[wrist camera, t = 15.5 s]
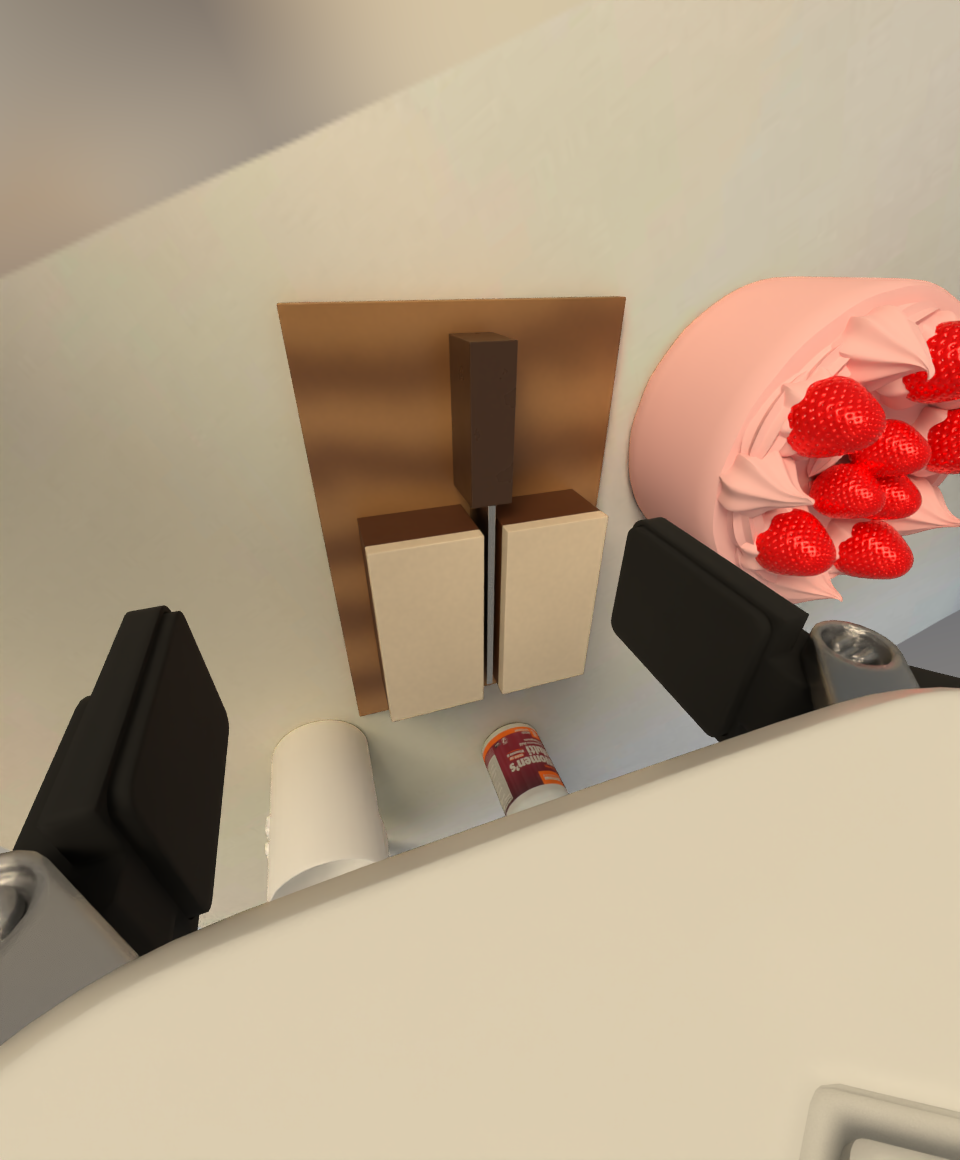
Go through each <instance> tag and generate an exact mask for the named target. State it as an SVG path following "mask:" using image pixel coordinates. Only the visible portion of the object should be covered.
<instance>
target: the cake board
mask: <svg viewBox="0 0 960 1160" xmlns="http://www.w3.org/2000/svg"><path fill="white" fill-rule="evenodd" d="M625 301H626V297H619V296H610V297H558V298H506V299H454V300H402V301H350V302H298V303H277V309H278V314H279V319H280V324H281V329H282V334H283V339H284V344H285V349H286V354H287V358H288V363H289V368H290V373H291V378H292V383H293V388H294V393H295V398H296V403H297V408H298V413H299V418H300V423H301V428H302V433H303V438H304V443H305V448H306V453H307V458H308V463H309V467H310V472H311V477H312V482H313V487H314V492H315V497H316V502H317V507H318V512H319V517H320V522H321V527H322V532H323V537H324V542H325V547H326V552H327V557H328V562H329V567H330V571H331V576H332V581H333V586H334V591H335V596H336V601H337V606H338V611H339V616H340V621H341V626H342V631H343V636H344V641H345V646H346V651H347V656H348V661H349V666H350V671H351V676H352V680H353V685H354V690H355V695H356V700H357V705H358V710H359V715H360V716H364V715H368V714H373V713H377V712H381V711H385V710H389V707H388V703H387V698H386V694H385V690H384V685H383V681H382V676H381V670H380V664H379V657H378V651H377V644H376V638H375V631H374V625H373V619H372V612H371V606H370V599H369V593H368V586H367V580H366V573H365V567H364V561H363V554H362V548H361V541H360V535H359V528H358V522H357V518H362V517H369V516H376V515H384V514H391V513H398V512H406V511H413V510H420V509H427V508H435V507H442V506H449V505H457V504H461V505H462V506H463V508H464V509H465V511H466V512H467V513H468V515H469V516H470V505H469V504H468V503H467V501H466V500H465V499H464V497H463V496H462V495H461V493H460V492H459V491H458V490H457V488H456V487H455V486H454V477H453V447H452V417H451V386H450V356H449V334H450V333H476V332H493V333H497V334H500V335H503V336H506V337H509V338H513V339H516V340H518V354H517V381H516V407H515V434H514V461H513V487H512V497H516V496H523V495H530V494H538V493H545V492H552V491H559V490H567V489H573V490H575V491H576V492H577V493H578V494H580V495H581V496H582V497H584V498H585V499H586V500H587V501H589V502H590V503H591V504H593V505H594V506H595V507H596V505H597V498H598V490H599V483H600V476H601V469H602V462H603V455H604V448H605V441H606V434H607V427H608V420H609V413H610V406H611V399H612V392H613V385H614V378H615V371H616V364H617V357H618V350H619V343H620V336H621V329H622V322H623V315H624V308H625ZM495 683H497V682H496V680H495V678H494V676H493V683H492V684H495ZM488 685H491V684H488ZM484 686H487V684H486V682H485V680H484Z"/></svg>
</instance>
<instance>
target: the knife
mask: <svg viewBox="0 0 960 1160" xmlns="http://www.w3.org/2000/svg"><path fill="white" fill-rule="evenodd" d="M517 354H518V340H516V339H513V338H509V337H506V336H503V335H500V334H497V333H493V332H476V333H450V334H449V356H450V386H451V417H452V447H453V477H454V486H455V487H456V488H457V490H458V491H459V492H460V493H461V495H462V496H463V497H464V499H465V500H466V501H467V503H468V504H469V505H470V517H471V519H472V520H473V521H474V523H475V524H476V526H477V527H478V528H479V530H480V531H481V533H482V534H483V535H484V680H485V682H486V684H487V685H488V684H492V683H493V637H494V581H495V525H496V505H501V504H508V503H512V487H513V461H514V434H515V407H516V381H517Z"/></svg>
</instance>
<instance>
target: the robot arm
mask: <svg viewBox="0 0 960 1160" xmlns="http://www.w3.org/2000/svg"><path fill="white" fill-rule="evenodd" d="M808 616H809V614H808V613H806V612H805V611H803V610H802V609H800V608H799V607H797V606H796V605H794V604H793V603H791V602H790V601H788V600H787V599H785V598H784V597H782V596H781V595H779V594H778V593H776V592H775V591H773V590H772V589H770V588H769V587H767V586H766V585H764V584H763V583H761V582H760V581H758V580H757V579H755V578H754V577H752V576H751V575H749V574H748V573H746V572H745V571H743V570H742V569H740V568H739V567H737V566H736V565H734V564H733V563H731V562H730V561H728V560H727V559H725V558H724V557H722V556H721V555H719V554H718V553H716V552H715V551H713V550H712V549H710V548H709V547H707V546H706V545H704V544H703V543H701V542H700V541H698V540H697V539H695V538H694V537H692V536H691V535H689V534H688V533H686V532H685V531H683V530H682V529H680V528H679V527H677V526H676V525H674V524H673V523H671V522H670V521H668V520H667V519H665V518H663V517H657V518H651V519H646V520H640V521H638V522H636V523H635V525H634V526H633V528H632V529H630V531H629V532H628V535H627V540H626V546H625V551H624V556H623V561H622V566H621V571H620V576H619V582H618V587H617V592H616V597H615V602H614V607H613V612H612V618H611V624H612V628H613V630H614V632H615V633H616V635H617V636H618V637H619V638H620V639H621V640H622V641H623V642H624V644H625V645H626V646H627V647H628V648H629V649H630V650H631V651H632V652H633V653H634V655H635V656H636V657H637V658H638V659H639V660H640V661H641V662H642V663H643V664H644V666H645V667H646V668H647V669H648V670H649V671H650V672H651V673H652V674H653V676H654V677H655V678H656V679H657V680H658V681H659V682H660V683H661V684H662V685H663V687H664V688H665V689H666V690H667V691H668V692H669V693H670V694H671V695H672V696H673V698H674V699H675V700H676V701H677V702H678V703H679V704H680V705H681V706H682V708H683V709H684V710H685V711H686V712H687V713H688V714H689V715H690V716H691V717H692V719H693V720H694V721H695V722H696V723H697V724H698V725H699V726H700V727H701V728H702V730H703V731H704V732H705V733H706V734H708V735H709V736H711V737H715V738H716V739H717V740H718V741H719V742H718V743H716V744H713V745H710V746H707V747H704V748H701V749H698V750H695V751H692V752H689V753H686V754H683V755H680V756H677V757H675V758H672V759H669V760H666V761H663V762H660V763H657V764H654V765H651V766H649V767H646V768H643V769H640V770H637V771H634V772H631V773H628V774H626V775H623V776H620V777H617V778H614V779H611V780H608V781H605V782H602V783H600V784H597V785H594V786H591V787H588V788H585V789H582V790H580V791H577V792H574V793H571V794H568V795H565V796H562V797H559V798H557V799H554V800H551V801H548V802H545V803H542V804H539V805H537V806H534V807H531V808H528V809H525V810H522V811H519V812H517V813H514V814H511V815H508V816H505V817H502V818H500V819H497V820H494V821H491V822H488V823H485V824H483V825H480V826H477V827H474V828H471V829H468V830H466V831H463V832H460V833H457V834H454V835H452V836H449V837H446V838H443V839H440V840H437V841H435V842H432V843H429V844H426V845H423V846H420V847H418V848H415V849H412V850H409V851H406V852H403V853H401V854H398V855H395V856H392V857H389V858H387V859H384V860H381V861H378V862H375V863H372V864H370V865H367V866H364V867H361V868H358V869H356V870H353V871H350V872H348V873H345V874H342V875H339V876H337V877H334V878H331V879H329V880H326V881H323V882H321V883H318V884H315V885H313V886H310V887H307V888H304V889H302V890H299V891H296V892H294V893H291V894H288V895H286V896H283V897H280V898H278V899H275V900H272V901H270V902H267V903H264V904H261V905H259V906H256V907H253V908H251V909H248V910H245V911H243V912H240V913H238V914H235V915H233V916H230V917H228V918H226V919H223V920H221V921H218V922H216V923H214V924H211V925H209V926H206V927H204V928H202V929H199V930H198V921H199V915H200V914H203V913H206V912H208V911H209V910H210V907H211V904H212V897H213V887H214V877H215V867H216V857H217V847H218V836H219V826H220V816H221V806H222V796H223V786H224V775H225V765H226V755H227V745H228V735H229V723H228V717H227V713H226V710H225V708H224V706H223V704H222V701H221V699H220V697H219V694H218V692H217V690H216V688H215V685H214V683H213V681H212V678H211V676H210V674H209V671H208V669H207V667H206V665H205V662H204V660H203V658H202V655H201V653H200V651H199V648H198V646H197V644H196V642H195V639H194V637H193V635H192V632H191V630H190V628H189V626H188V623H187V621H186V619H185V617H184V615H183V613H182V612H181V611H176V612H171V611H170V609H169V608H168V607H167V606H165V605H164V606H158V607H153V608H147V609H141V610H136V611H130V612H127V613H126V615H125V616H124V618H123V621H122V623H121V626H120V628H119V630H118V633H117V635H116V637H115V640H114V642H113V645H112V647H111V649H110V652H109V654H108V656H107V659H106V661H105V664H104V666H103V668H102V671H101V673H100V675H99V678H98V680H97V682H96V685H95V687H94V690H93V692H92V694H91V696H87V697H85V698H84V699H82V700H81V701H80V702H79V704H78V705H77V707H76V709H75V711H74V713H73V716H72V718H71V720H70V722H69V725H68V727H67V729H66V731H65V734H64V736H63V738H62V740H61V743H60V745H59V747H58V749H57V752H56V754H55V756H54V758H53V761H52V763H51V765H50V767H49V770H48V772H47V774H46V776H45V779H44V781H43V783H42V785H41V788H40V790H39V792H38V794H37V797H36V799H35V801H34V803H33V806H32V808H31V810H30V812H29V815H28V817H27V819H26V821H25V824H24V826H23V828H22V830H21V833H20V835H19V837H18V839H17V842H16V844H15V846H14V849H13V851H10V852H6V853H1V854H0V1160H960V678H957V677H953V676H949V675H945V674H941V673H937V672H933V671H929V670H925V669H921V668H917V667H913V666H909V665H908V664H907V662H906V660H905V658H904V656H903V654H902V653H901V651H900V650H899V649H898V648H897V646H896V645H895V644H893V643H892V642H891V641H890V640H888V639H887V638H886V637H884V636H882V635H881V634H879V633H877V632H875V631H873V630H871V629H868V628H866V627H864V626H861V625H858V624H854V623H850V622H845V621H837V620H830V621H822V622H820V623H817V624H816V625H815V626H814V627H813V628H812V630H811V632H810V634H809V633H807V632H806V631H805V630H803V629H802V628H803V626H804V624H805V622H806V620H807V618H808Z"/></svg>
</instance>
